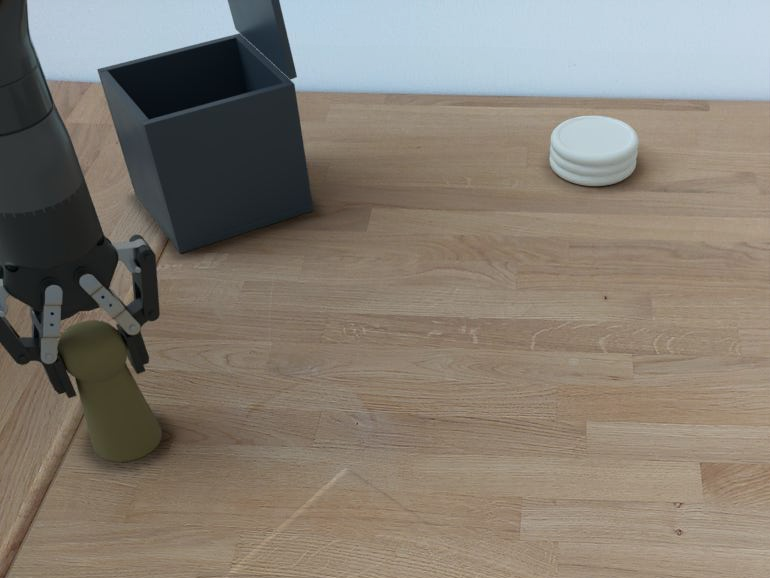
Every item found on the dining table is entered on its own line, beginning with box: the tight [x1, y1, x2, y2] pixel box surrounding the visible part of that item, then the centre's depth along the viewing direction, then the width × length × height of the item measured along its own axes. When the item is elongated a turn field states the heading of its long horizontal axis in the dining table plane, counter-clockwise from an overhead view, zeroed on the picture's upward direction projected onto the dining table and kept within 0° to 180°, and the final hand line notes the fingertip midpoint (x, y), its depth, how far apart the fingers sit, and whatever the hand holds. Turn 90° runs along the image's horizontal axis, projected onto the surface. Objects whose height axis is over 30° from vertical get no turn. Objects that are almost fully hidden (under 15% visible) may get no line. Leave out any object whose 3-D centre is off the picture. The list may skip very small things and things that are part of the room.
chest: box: [96, 32, 314, 254], centre depth 102 cm, size 16×14×13 cm
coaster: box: [549, 115, 640, 187], centre depth 110 cm, size 10×10×4 cm
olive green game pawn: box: [57, 319, 163, 463], centre depth 80 cm, size 6×6×11 cm
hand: (104, 378), depth 79 cm, fingers closed on olive green game pawn, 5 cm apart
